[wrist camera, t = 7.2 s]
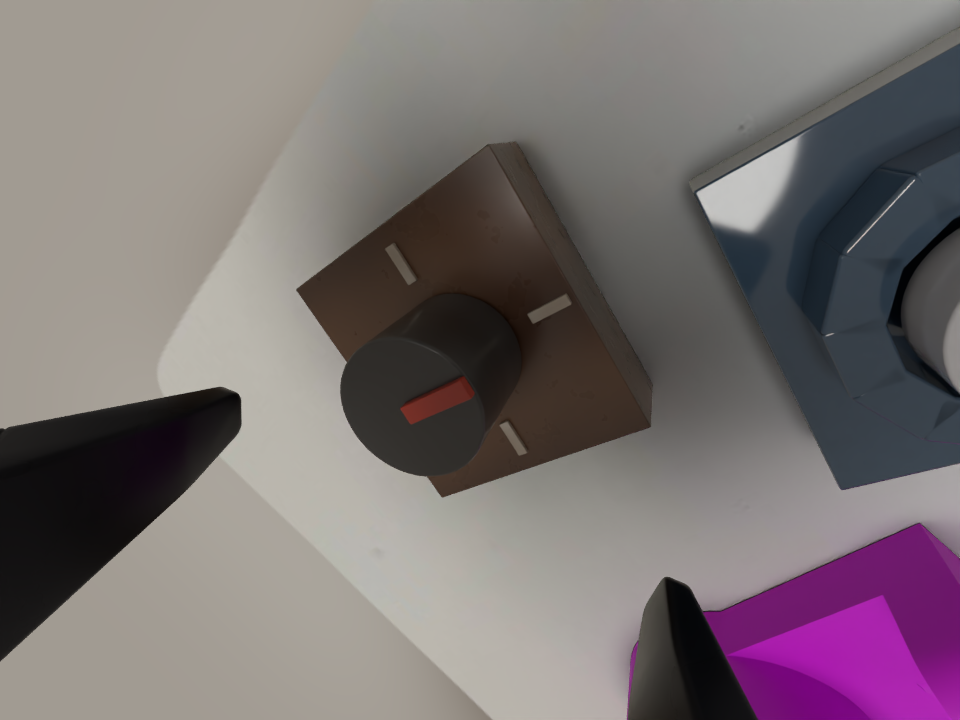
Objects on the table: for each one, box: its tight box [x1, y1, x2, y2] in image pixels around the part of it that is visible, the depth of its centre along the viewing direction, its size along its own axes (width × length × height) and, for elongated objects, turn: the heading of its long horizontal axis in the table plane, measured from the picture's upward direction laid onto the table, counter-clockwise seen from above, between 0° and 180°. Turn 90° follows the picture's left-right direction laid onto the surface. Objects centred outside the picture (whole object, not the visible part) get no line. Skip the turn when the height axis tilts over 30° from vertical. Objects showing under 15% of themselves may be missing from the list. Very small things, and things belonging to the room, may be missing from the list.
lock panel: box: [296, 142, 653, 497], centre depth 18 cm, size 10×9×3 cm
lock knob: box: [340, 294, 522, 476], centre depth 15 cm, size 4×4×4 cm
